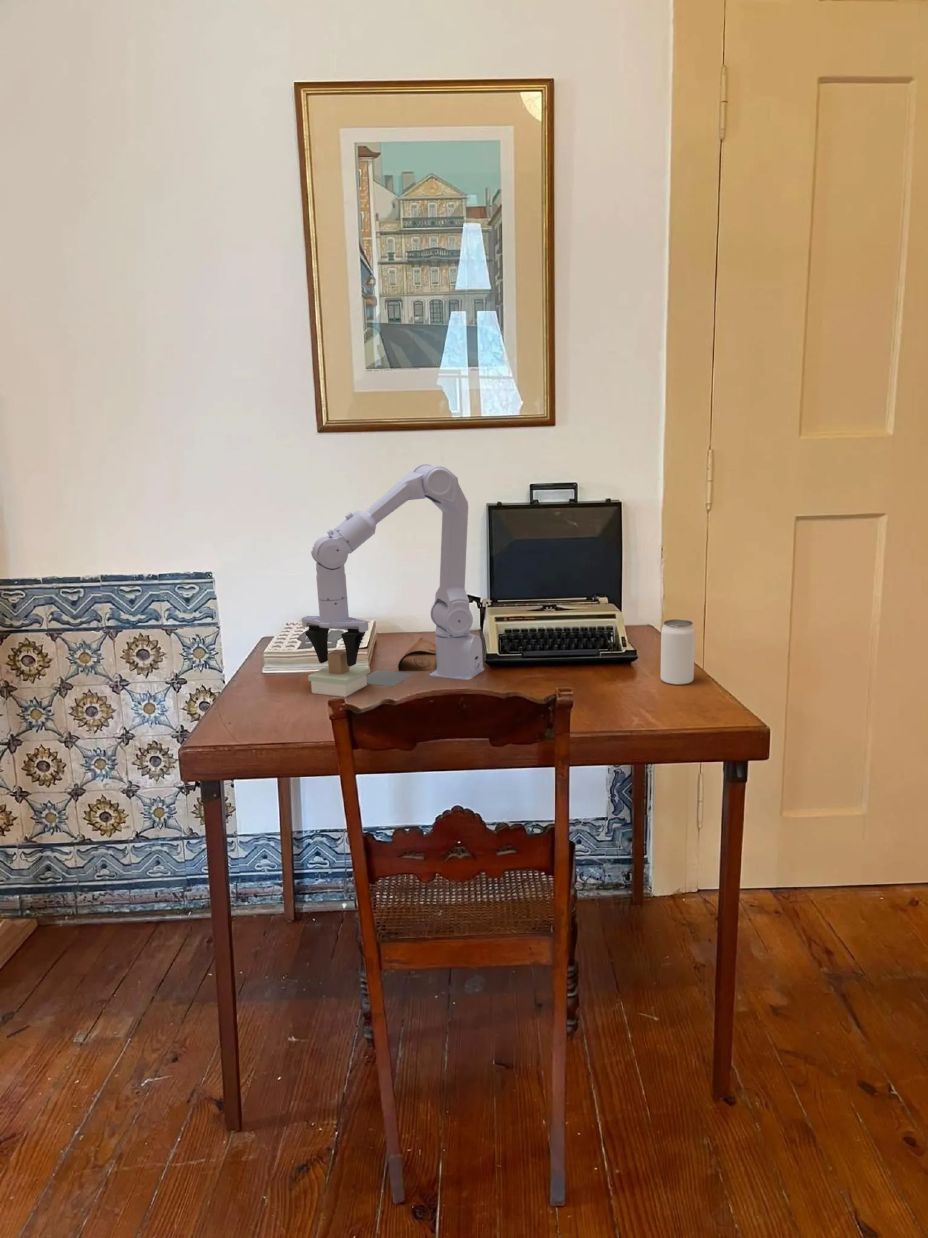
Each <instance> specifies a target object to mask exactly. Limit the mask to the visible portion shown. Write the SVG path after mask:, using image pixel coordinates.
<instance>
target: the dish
mask: <svg viewBox="0 0 928 1238" xmlns="http://www.w3.org/2000/svg"><path fill="white" fill-rule="evenodd" d="M366 676H367V674H366V675H364V676H362V677H360V678H359V679H357V680H355V681H353V682H351V683H349V684H347V685H341V684H333V683H324V682H316V681H310V686H311V694H314V695H315V694H317V695H322V696H331V697H339V698H347V697H349V696H351V695H353V694H354V693H356V692H358V691H359V690H361V689H363V688H365V687H367V686H368V684H367V679H366Z"/></svg>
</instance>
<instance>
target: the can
mask: <svg viewBox="0 0 928 1238" xmlns="http://www.w3.org/2000/svg"><path fill="white" fill-rule="evenodd" d="M693 624H694V622H693V621H691V620H688V619H678V618H677V619H668V620H664V621H663V626H662V628H661V631H660V632H661V634H660V680H661V681H662V682H663V683H665V684H667V685H674V686H684V685H685V686H686V685H689V684H691V683H692V682H693V681H694V679H695V677H694V675H695V645H696V644H695V637H696V635H695V633H696V632H695V631H696V630H695V628H694V626H693Z"/></svg>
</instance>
